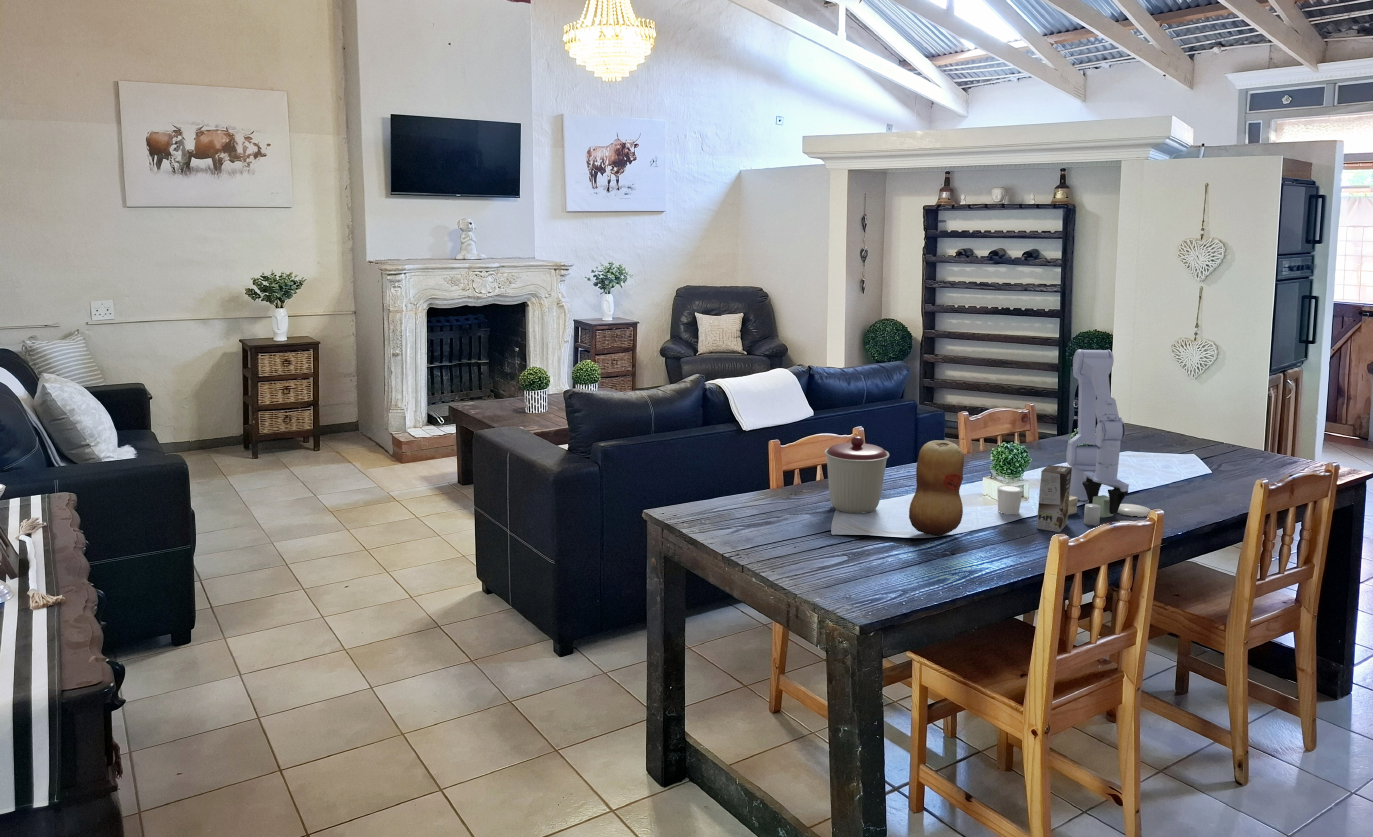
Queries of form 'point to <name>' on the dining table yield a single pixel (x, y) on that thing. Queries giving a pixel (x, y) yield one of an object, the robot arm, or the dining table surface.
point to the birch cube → (1072, 505)
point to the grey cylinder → (1092, 514)
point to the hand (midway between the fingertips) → (1102, 509)
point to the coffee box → (1054, 498)
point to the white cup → (1009, 499)
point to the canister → (855, 475)
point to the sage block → (1103, 505)
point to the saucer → (1133, 510)
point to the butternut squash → (938, 489)
